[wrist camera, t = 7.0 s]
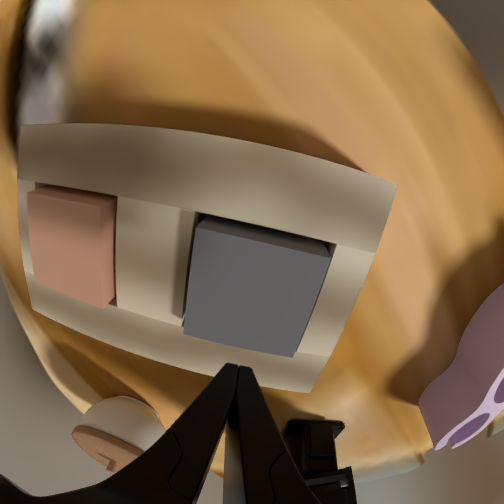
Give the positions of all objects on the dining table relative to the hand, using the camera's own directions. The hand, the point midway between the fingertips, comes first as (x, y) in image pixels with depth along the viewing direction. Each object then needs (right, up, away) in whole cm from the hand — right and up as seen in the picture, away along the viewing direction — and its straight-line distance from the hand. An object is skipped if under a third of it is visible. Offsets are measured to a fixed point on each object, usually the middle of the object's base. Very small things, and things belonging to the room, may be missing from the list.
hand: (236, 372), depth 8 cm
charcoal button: (+1, +3, +8) cm, 9 cm away
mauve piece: (+26, -6, +12) cm, 29 cm away
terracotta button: (-10, +6, +8) cm, 14 cm away
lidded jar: (-13, -15, +18) cm, 27 cm away
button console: (-5, +5, +10) cm, 12 cm away
